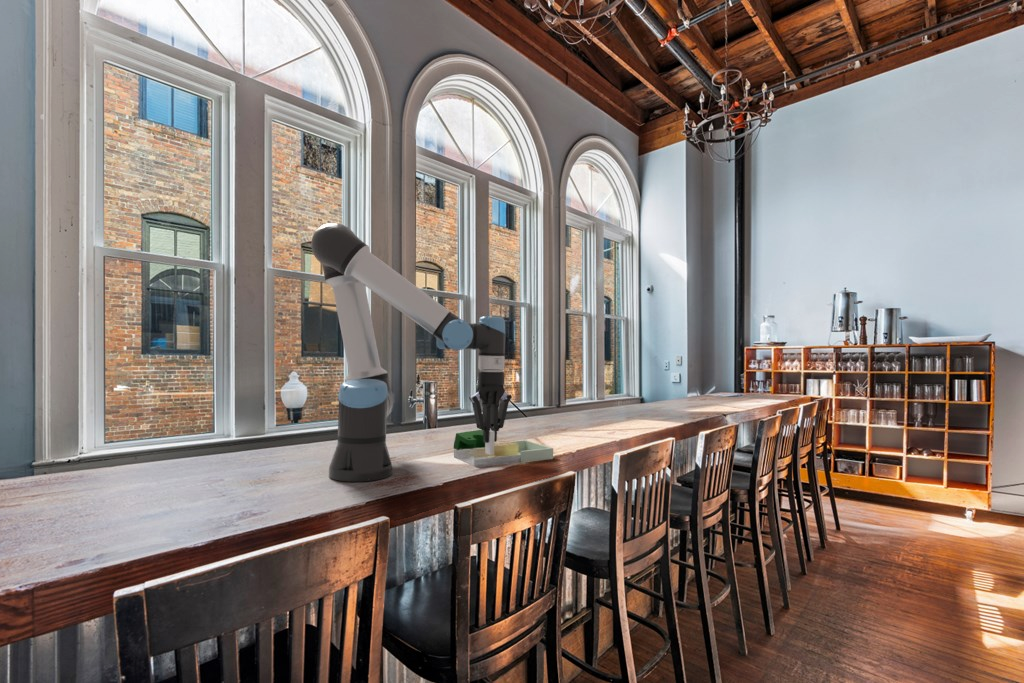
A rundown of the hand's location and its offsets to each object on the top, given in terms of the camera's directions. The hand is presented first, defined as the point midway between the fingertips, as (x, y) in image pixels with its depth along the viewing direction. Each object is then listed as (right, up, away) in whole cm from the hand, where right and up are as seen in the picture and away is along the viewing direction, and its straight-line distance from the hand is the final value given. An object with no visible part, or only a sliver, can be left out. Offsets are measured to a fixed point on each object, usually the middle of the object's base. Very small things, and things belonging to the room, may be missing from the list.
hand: (489, 453), depth 144 cm
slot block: (-1, -2, 0) cm, 3 cm away
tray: (+10, -3, +7) cm, 12 cm away
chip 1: (+2, -2, +2) cm, 3 cm away
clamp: (-6, -3, +15) cm, 17 cm away
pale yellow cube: (+5, -2, +4) cm, 7 cm away
